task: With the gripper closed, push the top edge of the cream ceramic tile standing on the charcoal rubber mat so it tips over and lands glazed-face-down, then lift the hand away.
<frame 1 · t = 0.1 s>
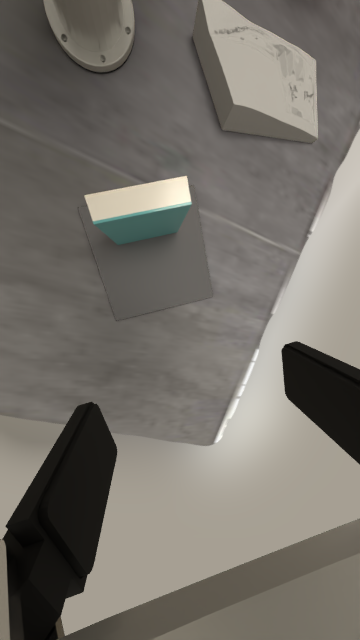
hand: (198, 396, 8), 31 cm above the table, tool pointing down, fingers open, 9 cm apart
tile: (146, 230, 34), point 1 cm above the table, touching mat
ramp: (256, 99, 32), on the table
mat: (152, 257, 36), on the table
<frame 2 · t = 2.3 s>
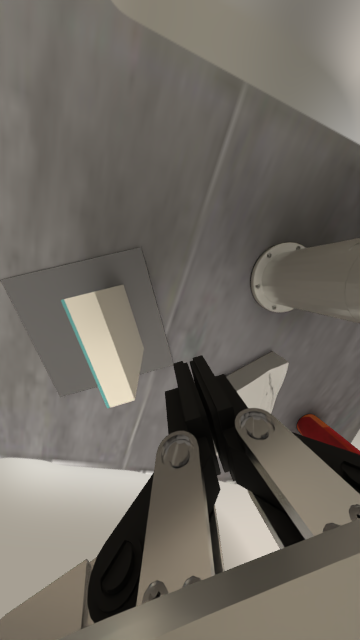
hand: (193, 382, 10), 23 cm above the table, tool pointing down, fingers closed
tile: (125, 320, 30), point 1 cm above the table, touching mat
ramp: (239, 402, 40), on the table
paper cup: (306, 422, 43), on the table
mat: (98, 326, 31), on the table
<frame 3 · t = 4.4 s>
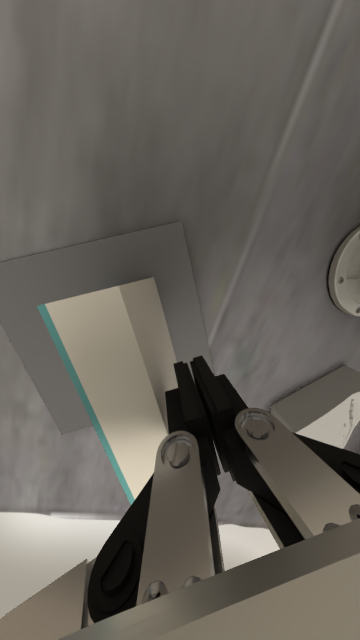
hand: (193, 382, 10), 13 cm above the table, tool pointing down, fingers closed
tile: (155, 328, 21), point 1 cm above the table, touching mat
ramp: (295, 430, 30), on the table
mat: (116, 337, 22), on the table
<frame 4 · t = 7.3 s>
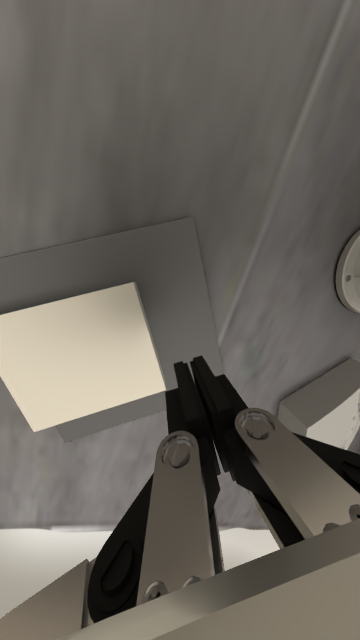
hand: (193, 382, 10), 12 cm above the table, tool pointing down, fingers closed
tile: (151, 336, 19), point 2 cm above the table, tilted 90°, touching mat
ramp: (303, 426, 30), on the table
mat: (123, 338, 21), on the table
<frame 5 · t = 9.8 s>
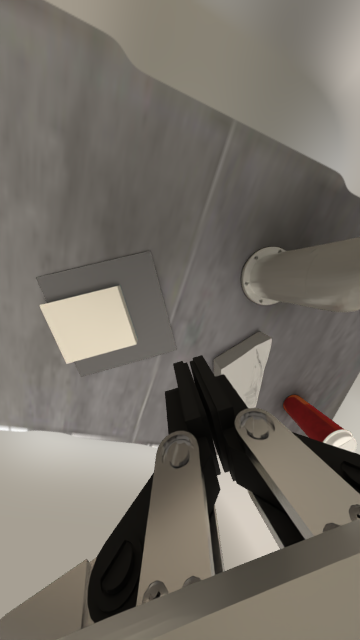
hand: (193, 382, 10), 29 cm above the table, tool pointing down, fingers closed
tile: (128, 315, 35), point 2 cm above the table, tilted 90°, touching mat
ramp: (234, 377, 46), on the table
paper cup: (291, 402, 50), on the table
mat: (114, 316, 37), on the table
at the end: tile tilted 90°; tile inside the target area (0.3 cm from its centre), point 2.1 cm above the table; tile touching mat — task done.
